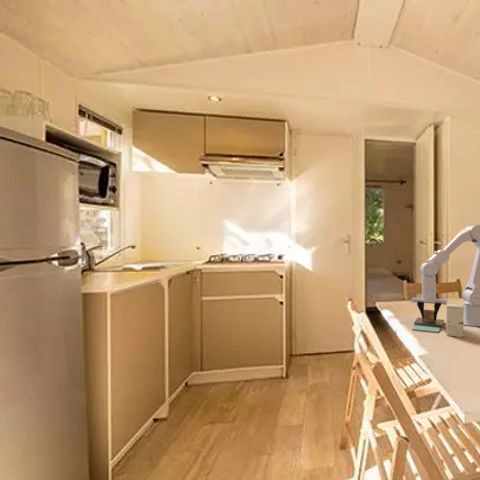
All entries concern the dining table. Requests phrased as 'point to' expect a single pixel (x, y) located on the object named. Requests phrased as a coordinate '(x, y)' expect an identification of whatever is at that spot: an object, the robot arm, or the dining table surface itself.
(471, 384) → the dining table surface
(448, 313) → the skincare box
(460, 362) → the dining table surface
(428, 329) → the mat
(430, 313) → the brown block
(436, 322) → the socket plate
